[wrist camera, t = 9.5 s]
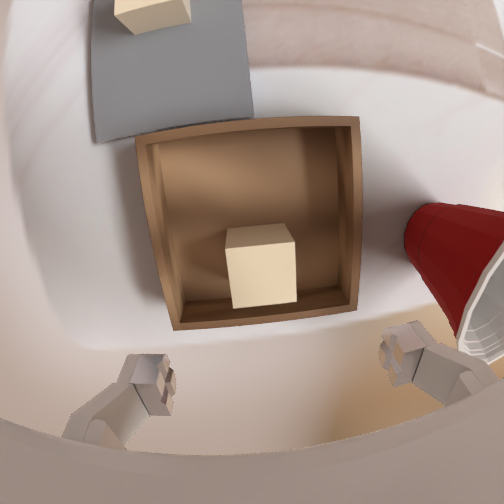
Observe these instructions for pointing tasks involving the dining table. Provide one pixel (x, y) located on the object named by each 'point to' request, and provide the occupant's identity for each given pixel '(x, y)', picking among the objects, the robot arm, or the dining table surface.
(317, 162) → the walnut bin
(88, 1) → the dining table surface
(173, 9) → the cream wooden cube
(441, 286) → the plastic cup
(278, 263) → the beige block
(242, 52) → the slate board
